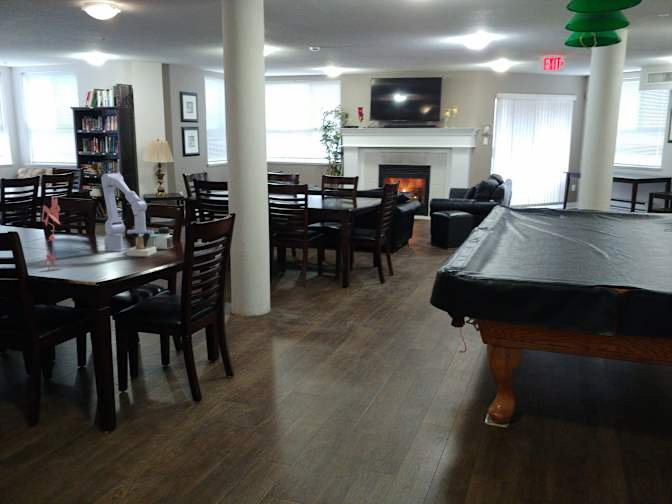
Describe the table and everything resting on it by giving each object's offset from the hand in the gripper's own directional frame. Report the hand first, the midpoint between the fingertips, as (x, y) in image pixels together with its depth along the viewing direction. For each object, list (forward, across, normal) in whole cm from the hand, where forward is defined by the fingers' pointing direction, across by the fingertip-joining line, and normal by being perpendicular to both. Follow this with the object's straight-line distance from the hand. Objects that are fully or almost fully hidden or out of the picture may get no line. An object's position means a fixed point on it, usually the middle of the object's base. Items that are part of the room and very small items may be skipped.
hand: (141, 246), depth 325 cm
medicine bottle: (+5, +5, +21) cm, 22 cm away
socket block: (+4, 0, 0) cm, 4 cm away
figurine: (+5, -27, -35) cm, 45 cm away
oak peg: (+2, 0, 0) cm, 2 cm away
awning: (+4, 0, +10) cm, 11 cm away
